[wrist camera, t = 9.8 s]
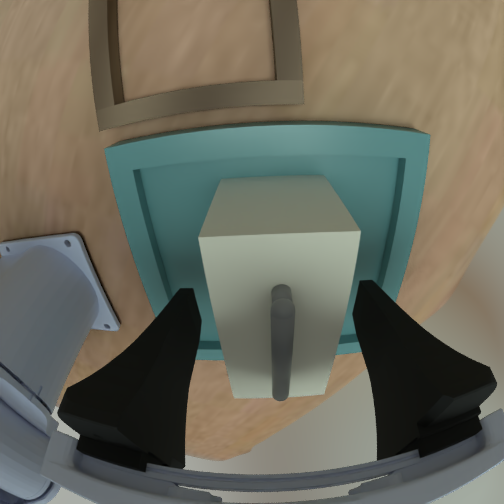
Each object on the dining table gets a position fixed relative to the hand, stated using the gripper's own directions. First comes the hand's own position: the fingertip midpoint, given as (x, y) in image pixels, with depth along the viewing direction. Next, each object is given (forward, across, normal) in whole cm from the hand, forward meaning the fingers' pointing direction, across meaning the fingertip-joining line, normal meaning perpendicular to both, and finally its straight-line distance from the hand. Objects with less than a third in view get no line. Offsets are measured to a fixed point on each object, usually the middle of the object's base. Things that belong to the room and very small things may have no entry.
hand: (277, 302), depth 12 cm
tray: (+3, 0, 0) cm, 3 cm away
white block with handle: (+3, 0, 0) cm, 3 cm away
